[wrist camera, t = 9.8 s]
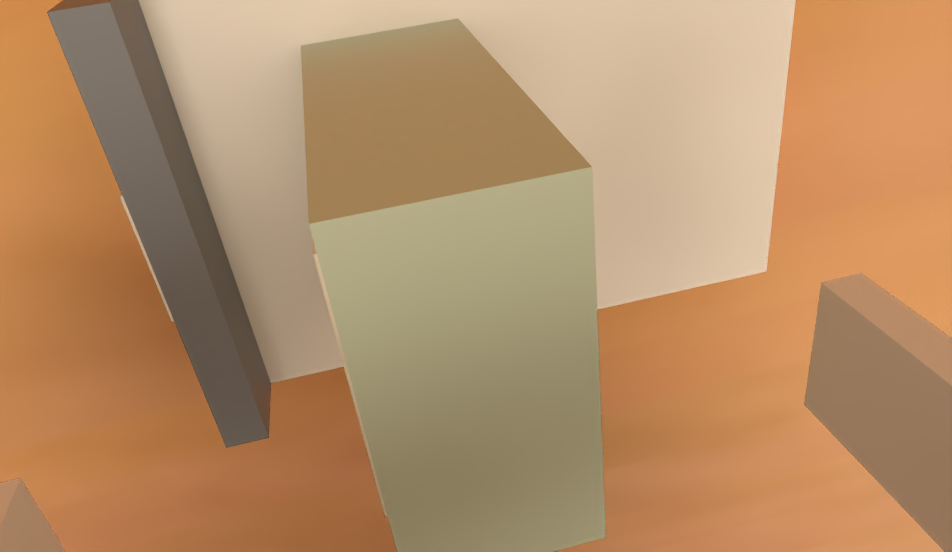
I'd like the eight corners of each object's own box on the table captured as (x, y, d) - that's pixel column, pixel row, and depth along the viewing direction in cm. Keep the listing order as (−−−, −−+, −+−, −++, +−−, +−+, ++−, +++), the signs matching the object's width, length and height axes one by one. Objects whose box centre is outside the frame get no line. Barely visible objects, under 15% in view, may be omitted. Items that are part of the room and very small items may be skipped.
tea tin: (294, 46, 18) (297, 226, 10) (457, 18, 19) (592, 166, 10) (359, 310, 23) (399, 591, 14) (491, 281, 23) (605, 538, 15)
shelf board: (228, 369, 24) (219, 449, 21) (80, -18, 18) (36, 14, 15) (748, 254, 26) (809, 310, 23) (782, -129, 20) (873, -122, 17)
